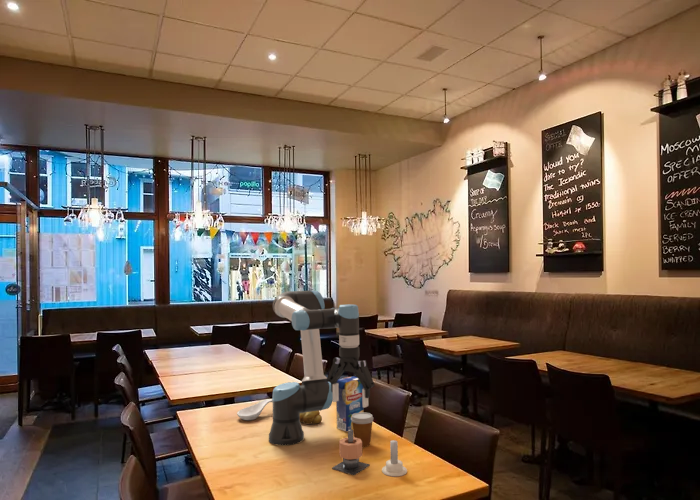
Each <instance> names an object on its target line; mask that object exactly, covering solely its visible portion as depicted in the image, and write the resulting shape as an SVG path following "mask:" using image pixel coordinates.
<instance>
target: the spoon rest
mask: <svg viewBox="0 0 700 500" xmlns="http://www.w3.org/2000/svg"><path fill="white" fill-rule="evenodd" d="M269 403H273V400H272V398H267V399H263V400H261V401H259V402H257V403H255V404H251V405H250V406H246V407H244V408H241V409H240V410H238V411H237V413H236V415H237V417H238V418H240V419H241V420H243V421H254V420H257V419H258V417H259V416H260V415H261V413H262V412H263V410H264V409H265V407H266V406H267V405H268V404H269Z"/></svg>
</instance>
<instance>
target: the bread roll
mask: <svg viewBox="0 0 700 500" xmlns="http://www.w3.org/2000/svg"><path fill="white" fill-rule="evenodd" d="M320 413H321V411H312V412H305V413H300V423H304V424H309V425H310V424H314V425H315V424H320V423H322V420H323V418H322V415H321V414H320Z"/></svg>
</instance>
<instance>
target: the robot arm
mask: <svg viewBox="0 0 700 500" xmlns="http://www.w3.org/2000/svg"><path fill="white" fill-rule="evenodd" d="M325 307H326V306H325V300H324V297H323V295H322V294H321V292H320V291H318V290H296V291H293V290H289V291H288V290H287V291H284V292H282V293H280V294H278V295H277V296H276V297H275V298H274V300H273V301H272V311H273V312H274V313H275V315H276V316H278V317H280V318H283V319H285V318H286V319H288V320H289V321H290V322H291V326H292V328H293V329H294V330H295V331H300V339H301V350H302V360H303V373H304V376H303V378H302V379H301V385H300V383H299V382H297V381H292V382H290V381H288V382H285V383H280V384H278V385H277V386H275V387H273V390H272V398H271V399H272V400H273V402H272V424H271V426H270V429H269V430H270V431H269V434H268V442H269V443H270V444H272V445H275V446H292V445H296V444H299V443H301V442H303V441H304V439H305V432H304V430H303V427H302V422H300V413H305V412H312V411H319V412H321V411H324V410H328V409H329V408H330V407H331V405H332V404H333V403H336V401H339V390H338V383H336V382H337V381H338V379H341V377H342V375H344V374H343V373H345V372H346V373H347V372H349V373H353V374H354V375H355V377H357V378H358V379H359V381H360V382H361V384H362V385H363V389H362V400H363V409H364V408H367V407H369V398H370V397H371V388H374V387H375V382H374V380H373V378H372V375H371V372H370V370H369V367H368V363H367V360H366V359H365V360H360V346H359V345H360V313H359V312H360V311H359V306H358V305H357V304H352V303H349V304H348V303H347V304H339V306H338V307H332V308H325ZM323 329H324V330H325V329H338V336H339V337H338V339H339V340H338V344H339V349H338V350H339V351H338V352H339V353H338V356H339V357H338V356H337V357H334V358H333V359H332V365H331V368H330V370H329V372H328V375H327V376H326V375H325V374H324V366H323V355H322V347H321V346H322V345H321V336H320V330H323ZM339 364H340V367H339Z"/></svg>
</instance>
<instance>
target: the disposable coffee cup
mask: <svg viewBox="0 0 700 500" xmlns="http://www.w3.org/2000/svg"><path fill="white" fill-rule="evenodd" d="M374 420H375V419H374V417H373V414H371V413H370V412H360V413H355V414H353V415H352V417H351V421H352V425H353V437H355V438H359V439H361V441H362V448H367V447H370V446H371V440H372V439H371V438H372V429H373V421H374Z"/></svg>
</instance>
